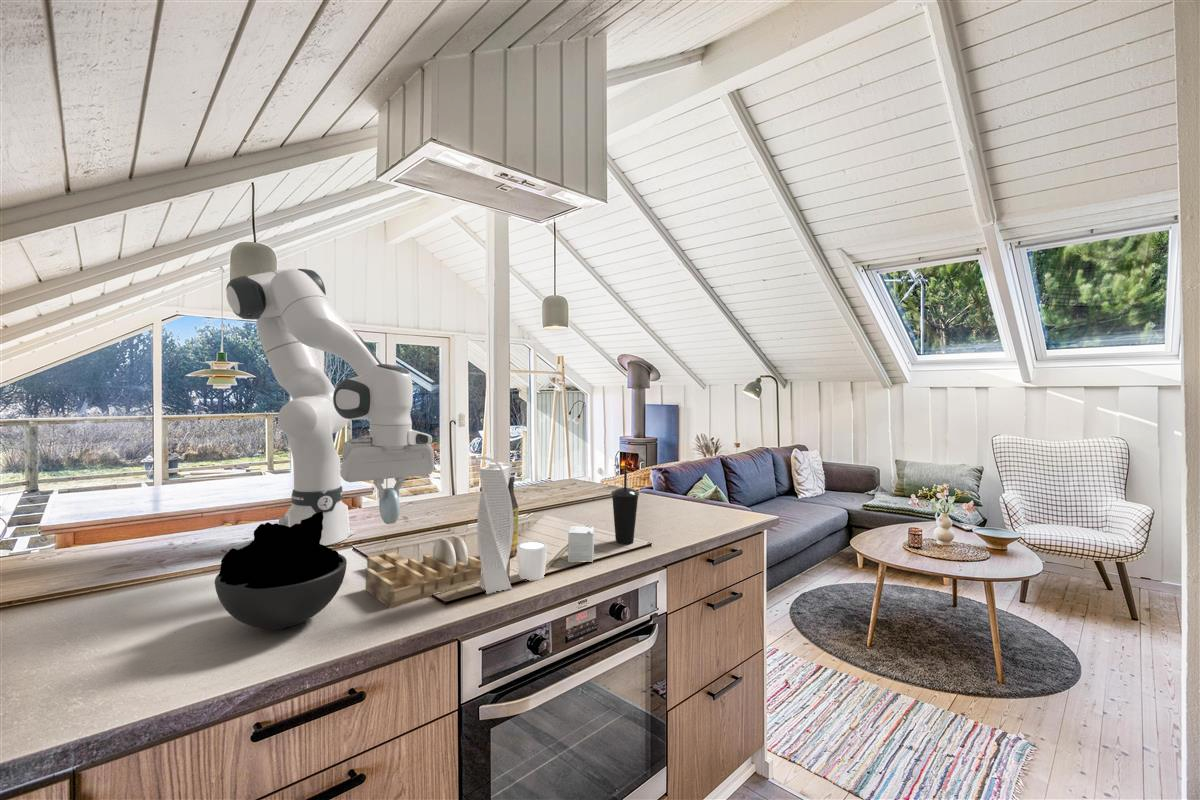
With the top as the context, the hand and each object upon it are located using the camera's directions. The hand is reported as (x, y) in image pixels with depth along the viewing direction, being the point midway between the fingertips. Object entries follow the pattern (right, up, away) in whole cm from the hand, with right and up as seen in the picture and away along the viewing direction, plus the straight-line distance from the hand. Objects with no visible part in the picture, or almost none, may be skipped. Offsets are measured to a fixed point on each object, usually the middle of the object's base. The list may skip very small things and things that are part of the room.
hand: (388, 497), depth 120 cm
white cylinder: (+33, -18, -1) cm, 37 cm away
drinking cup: (+55, -17, +25) cm, 62 cm away
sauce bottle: (+24, -17, +13) cm, 32 cm away
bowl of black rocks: (-8, -18, -26) cm, 32 cm away
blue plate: (0, -6, 0) cm, 6 cm away
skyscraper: (+25, -18, -8) cm, 32 cm away
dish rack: (+11, -17, -8) cm, 22 cm away
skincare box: (+43, -17, +11) cm, 48 cm away
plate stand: (0, -17, 0) cm, 17 cm away
